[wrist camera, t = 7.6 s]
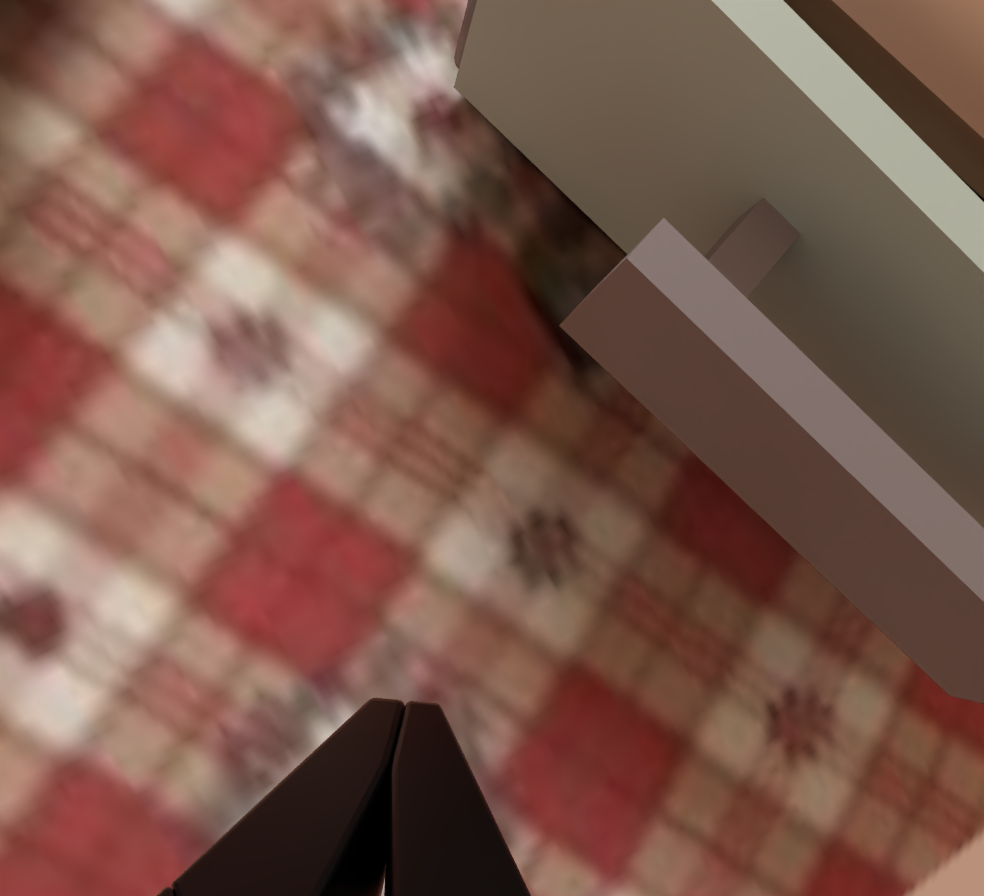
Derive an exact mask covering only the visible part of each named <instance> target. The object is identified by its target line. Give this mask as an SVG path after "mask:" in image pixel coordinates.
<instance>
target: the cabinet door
mask: <svg viewBox="0 0 984 896" xmlns="http://www.w3.org/2000/svg"><path fill="white" fill-rule="evenodd" d="M454 59H455V64H456V66H457V68H458V69H459V70H458V74H457V78H456V82H455V85H454V88H455V89H456V90H457V91H458V92H459V93H460V94H461V95H463V96H464V97H465V98H466V99H467V100H468V101H469V102H470V103H471V104H472V105H473V106H474V107H475V108H476V109H477V110H478V111H479V112H480V113H481V114H482V115H483V116H484V117H485V118H486V119H487V120H488V121H490V122H491V123H492V124H493V125H494V126H495V127H496V128H497V129H498V130H499V131H500V132H501V133H502V134H503V135H504V136H505V137H506V138H507V139H508V140H509V141H510V142H511V143H512V144H513V145H514V146H515V147H517V148H518V149H519V150H520V151H521V152H522V153H523V154H524V155H525V156H526V157H527V158H528V159H529V160H530V161H531V162H532V163H533V164H534V165H535V166H536V167H537V168H538V169H539V170H540V171H541V172H542V173H544V174H545V175H546V176H547V177H548V178H549V179H550V180H551V181H552V182H553V183H554V184H555V185H556V186H557V187H558V188H559V189H560V190H561V191H562V192H563V193H564V194H565V195H566V196H567V197H568V198H569V199H571V200H572V201H573V202H574V203H575V204H576V205H577V206H578V207H579V208H580V209H581V210H582V211H583V212H584V213H585V214H586V215H587V216H588V217H589V218H590V219H591V220H592V221H593V222H594V223H595V224H596V225H598V226H599V227H600V228H601V229H602V230H603V231H604V232H605V233H606V234H607V235H608V236H609V237H610V238H611V239H612V240H613V241H614V242H615V243H616V244H617V245H618V246H619V247H620V248H621V249H622V250H623V251H625V252H626V253H627V255H626V256H625V257H624V258H623V259H622V260H621V261H620V262H619V263H618V264H617V265H616V266H615V267H614V268H613V269H612V270H611V271H610V272H609V273H608V274H607V276H606V277H605V278H604V279H603V280H602V281H601V282H600V283H599V284H598V285H597V286H596V287H595V288H594V289H593V290H592V291H591V292H590V293H589V294H588V295H587V296H586V297H585V298H584V299H583V300H582V301H581V302H580V304H579V305H578V306H577V307H576V308H575V309H574V310H573V311H572V312H571V313H570V314H569V315H568V317H567V318H566V319H565V320H564V321H563V322H562V323H561V324H560V325H559V326H560V327H561V328H562V329H563V330H564V331H565V332H566V333H567V334H568V335H569V336H570V337H571V338H573V339H574V340H575V341H576V342H577V343H578V344H579V345H580V346H581V347H582V348H583V349H584V350H585V351H586V352H587V353H588V354H589V355H590V356H591V357H593V358H594V359H595V360H596V361H597V362H598V363H599V364H600V365H601V366H602V367H603V368H604V369H605V370H606V371H607V372H608V373H609V374H610V375H612V376H613V377H614V378H615V379H616V380H617V381H618V382H619V383H620V384H621V385H622V386H623V387H624V388H625V389H626V390H627V391H628V392H629V393H631V394H632V395H633V396H634V397H635V398H636V399H637V400H638V401H639V402H640V403H641V404H642V405H643V406H644V407H645V408H646V409H647V410H648V411H649V412H651V413H652V414H653V415H654V416H655V417H656V418H657V419H658V420H659V421H660V422H661V423H662V424H663V425H664V426H665V427H666V428H667V429H668V430H670V431H671V432H672V433H673V434H674V435H675V436H676V437H677V438H678V439H679V440H680V441H681V442H682V443H683V444H684V445H685V446H686V447H687V448H689V449H690V450H691V451H692V452H693V453H694V454H695V455H696V456H697V457H698V458H699V459H700V460H701V461H702V462H703V463H704V464H705V465H706V466H707V467H709V468H710V469H711V470H712V471H713V472H714V473H715V474H716V475H717V476H718V477H719V478H720V479H721V480H722V481H723V482H724V483H725V484H726V485H728V486H729V487H730V488H731V489H732V490H733V491H734V492H735V493H736V494H737V495H738V496H739V497H740V498H741V499H742V500H743V501H744V502H745V503H747V504H748V505H749V506H750V507H751V508H752V509H753V510H754V511H755V512H756V513H757V514H758V515H759V516H760V517H761V518H762V519H763V520H764V521H765V522H767V523H768V524H769V525H770V526H771V527H772V528H773V529H774V530H775V531H776V532H777V533H778V534H779V535H780V536H781V537H782V538H783V539H784V540H786V541H787V542H788V543H789V544H790V545H791V546H792V547H793V548H794V549H795V550H796V551H797V552H798V553H799V554H800V555H801V556H802V557H803V558H805V559H806V560H807V561H808V562H809V563H810V564H811V565H812V566H813V567H814V568H815V569H816V570H817V571H818V572H819V573H820V574H821V575H822V576H823V577H825V578H826V579H827V580H828V581H829V582H830V583H831V584H832V585H833V586H834V587H835V588H836V589H837V590H838V591H839V592H840V593H841V594H842V595H844V596H845V597H846V598H847V599H848V600H849V601H850V602H851V603H852V604H853V605H854V606H855V607H856V608H857V609H858V610H859V611H860V612H861V613H863V614H864V615H865V616H866V617H867V618H868V619H869V620H870V621H871V622H872V623H873V624H874V625H875V626H876V627H877V628H878V629H879V630H880V631H881V632H883V633H884V634H885V635H886V636H887V637H888V638H889V639H890V640H891V641H892V642H893V643H894V644H895V645H896V646H897V647H898V648H899V649H900V650H902V651H903V652H904V653H905V654H906V655H907V656H908V657H909V658H910V659H911V660H912V661H913V662H914V663H915V664H916V665H917V666H918V667H919V668H921V669H922V670H923V671H924V672H925V673H926V674H927V675H928V676H929V677H930V678H931V679H932V680H933V681H934V682H935V683H936V684H937V685H938V686H939V687H941V688H942V689H943V690H944V691H945V692H946V693H947V694H948V695H949V696H952V697H957V698H961V699H965V700H970V701H974V702H979V703H983V704H984V202H983V201H982V200H981V199H980V198H979V197H978V196H977V195H976V194H975V193H974V192H973V191H972V190H971V189H970V188H969V187H968V186H967V185H966V184H965V183H964V182H963V181H962V180H961V179H960V178H959V177H958V176H957V175H956V174H955V173H954V172H953V171H952V170H951V169H950V168H949V167H948V166H947V165H946V164H945V163H944V162H943V161H942V160H941V159H940V158H939V157H938V156H937V155H936V154H935V153H934V152H933V151H932V150H931V149H930V148H929V147H928V146H927V145H926V144H925V143H924V142H923V141H922V140H921V139H920V138H919V137H918V136H917V135H916V134H915V133H914V132H913V131H912V130H911V129H910V127H909V126H908V125H907V124H906V123H905V122H904V121H903V120H902V119H901V118H900V117H899V116H898V115H897V114H896V113H895V112H894V111H893V110H892V109H891V108H890V107H889V106H888V105H887V104H886V103H885V102H884V101H883V100H882V99H881V98H880V97H879V96H878V95H877V94H876V93H875V92H874V91H873V90H872V89H871V88H870V87H869V86H868V85H867V84H866V83H865V82H864V81H863V80H862V79H861V78H860V77H859V76H858V75H857V74H856V73H855V72H854V71H853V70H852V69H851V68H850V67H849V66H848V65H847V64H846V63H845V62H844V61H843V60H842V59H841V58H840V57H839V56H838V55H837V54H836V53H835V52H834V51H833V50H832V49H831V48H830V47H829V46H828V45H827V44H826V43H825V42H824V41H823V40H822V39H821V38H820V37H819V36H818V35H817V34H816V33H815V32H814V31H813V30H812V29H811V28H810V27H809V26H808V25H807V24H806V23H805V22H804V21H803V20H802V19H801V18H800V17H799V16H798V15H797V14H796V13H795V12H794V11H793V10H792V9H791V8H790V7H789V6H788V5H787V4H786V3H785V2H784V1H783V0H468V4H467V8H466V12H465V16H464V20H463V24H462V28H461V32H460V36H459V40H458V44H457V48H456V52H455V57H454Z"/></svg>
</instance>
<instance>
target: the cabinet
mask: <svg viewBox="0 0 984 896" xmlns="http://www.w3.org/2000/svg"><path fill="white" fill-rule="evenodd" d="M783 1H784V2H785V3H786V4H787V5H788V6H789V7H790V8H791V9H792V10H793V11H794V12H795V13H796V14H797V15H798V16H799V17H800V18H801V19H802V20H803V21H804V22H805V23H806V24H807V25H808V26H809V27H810V28H811V29H812V30H813V31H814V32H815V33H816V34H817V35H818V36H819V37H820V38H821V39H822V40H823V41H824V42H825V43H826V44H827V45H828V46H829V47H830V48H831V49H832V50H833V51H834V52H835V53H836V54H837V55H838V56H839V57H840V58H841V59H842V60H843V61H844V62H845V63H846V64H847V65H848V66H849V67H850V68H851V69H852V70H853V71H854V72H855V73H856V74H857V75H858V76H859V77H860V78H861V79H862V80H863V81H864V82H865V83H866V84H867V85H868V86H869V87H870V88H871V89H872V90H873V91H874V92H875V93H876V94H877V95H878V96H879V97H880V98H881V99H882V100H883V101H884V102H885V103H886V104H887V105H888V106H889V107H890V108H891V109H892V110H893V111H894V112H895V113H896V114H897V115H898V116H899V117H900V118H901V119H902V120H903V121H904V122H905V123H906V124H907V125H908V126H909V127H910V129H911V130H912V131H913V132H914V133H915V134H916V135H917V136H918V137H919V138H920V139H921V140H922V141H923V142H924V143H925V144H926V145H927V146H928V147H929V148H930V149H931V150H932V151H933V152H934V153H935V154H936V155H937V156H938V157H939V158H940V159H941V160H942V161H943V162H944V163H945V164H946V165H947V166H948V167H949V168H950V169H951V170H952V171H953V172H954V173H955V174H956V175H957V176H958V177H959V178H960V179H961V180H962V181H963V182H964V183H965V184H966V185H967V186H968V187H969V188H970V189H971V190H972V191H973V192H974V193H975V194H976V195H977V196H978V197H979V198H980V199H981V200H982V201H983V202H984V0H783Z"/></svg>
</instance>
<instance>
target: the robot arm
mask: <svg viewBox="0 0 984 896" xmlns="http://www.w3.org/2000/svg"><path fill="white" fill-rule="evenodd" d="M384 878H385V893H384V896H531V895H530V892H529V890H528V888H527V886H526V884H525V882H524V880H523V878H522V876H521V874H520V871H519V869H518V867H517V865H516V863H515V861H514V859H513V857H512V855H511V853H510V850H509V848H508V846H507V844H506V842H505V840H504V838H503V836H502V834H501V832H500V829H499V827H498V825H497V823H496V821H495V819H494V817H493V815H492V813H491V811H490V808H489V806H488V804H487V802H486V800H485V798H484V796H483V794H482V792H481V789H480V787H479V785H478V783H477V781H476V779H475V777H474V775H473V773H472V771H471V768H470V766H469V764H468V762H467V760H466V758H465V756H464V754H463V752H462V750H461V747H460V745H459V743H458V741H457V739H456V737H455V735H454V733H453V731H452V729H451V726H450V724H449V722H448V720H447V718H446V716H445V714H444V712H443V710H442V708H441V707H440V705H439V704H437V703H429V702H417V701H410V702H408V703H407V704H406V705H404V703H403V702H402V701H401V700H394V699H382V698H372V699H370V700H369V701H368V702H367V703H365V704H364V705H363V706H362V707H361V708H360V709H359V710H358V711H357V712H356V713H355V714H354V715H352V716H351V717H350V718H349V719H348V720H347V721H346V722H345V723H344V724H343V725H342V726H341V727H340V728H338V729H337V730H336V731H335V732H334V733H333V734H332V735H331V736H330V737H329V738H328V739H327V740H326V741H324V742H323V743H322V744H321V745H320V746H319V747H318V748H317V749H316V750H315V751H314V752H313V753H312V754H310V755H309V756H308V757H307V758H306V759H305V760H304V761H303V762H302V763H301V764H300V765H299V766H298V767H296V768H295V769H294V770H293V771H292V772H291V773H290V774H289V775H288V776H287V777H286V778H285V779H284V780H282V781H281V782H280V783H279V784H278V785H277V786H276V787H275V788H274V789H273V790H272V791H271V792H270V793H268V794H267V795H266V796H265V797H264V798H263V799H262V800H261V801H260V802H259V803H258V804H257V805H256V806H254V807H253V808H252V809H251V810H250V811H249V812H248V813H247V814H246V815H245V816H244V817H243V818H242V819H240V820H239V821H238V822H237V823H236V824H235V825H234V826H233V827H232V828H231V829H230V830H229V831H228V832H226V833H225V834H224V835H223V836H222V837H221V838H220V839H219V840H218V841H217V842H216V843H215V844H214V845H212V846H211V847H210V848H209V849H208V850H207V851H206V852H205V853H204V854H203V855H202V856H201V857H200V858H198V859H197V860H196V861H195V862H194V863H193V864H192V865H191V866H190V867H189V868H188V869H187V870H186V871H184V872H183V873H182V874H181V875H180V876H179V877H178V878H177V879H176V880H175V881H174V882H173V883H172V886H171V887H172V888H170V887H166V888H164V889H163V890H162V891H161V892H160V893H159V894H158V895H157V896H381V893H382V889H383V884H384Z"/></svg>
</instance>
